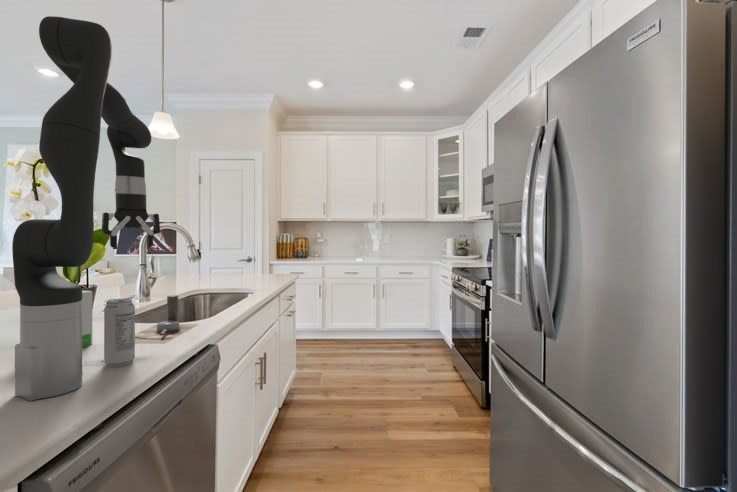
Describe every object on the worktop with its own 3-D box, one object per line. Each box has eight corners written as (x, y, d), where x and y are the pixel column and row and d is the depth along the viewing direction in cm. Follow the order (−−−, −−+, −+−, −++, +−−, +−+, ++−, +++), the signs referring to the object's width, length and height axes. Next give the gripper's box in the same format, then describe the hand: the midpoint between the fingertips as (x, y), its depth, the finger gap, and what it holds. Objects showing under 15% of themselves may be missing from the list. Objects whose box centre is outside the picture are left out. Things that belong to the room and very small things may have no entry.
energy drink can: (124, 357, 92) (125, 297, 91) (140, 361, 89) (140, 299, 89) (98, 365, 86) (98, 301, 86) (114, 369, 83) (114, 303, 83)
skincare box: (62, 358, 90) (62, 294, 90) (40, 356, 92) (40, 293, 91) (94, 348, 99) (94, 290, 98) (73, 346, 100) (73, 289, 100)
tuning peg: (163, 323, 121) (163, 295, 121) (183, 322, 123) (183, 295, 123) (150, 338, 103) (150, 306, 103) (174, 336, 105) (174, 305, 105)
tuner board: (164, 347, 100) (164, 342, 100) (115, 347, 100) (115, 342, 100) (198, 327, 122) (198, 323, 122) (158, 327, 122) (158, 323, 122)
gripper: (103, 191, 100) (105, 250, 101) (161, 194, 109) (162, 248, 111) (98, 191, 105) (100, 248, 106) (155, 194, 115) (156, 246, 116)
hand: (132, 248), depth 109 cm, fingers open, 8 cm apart
